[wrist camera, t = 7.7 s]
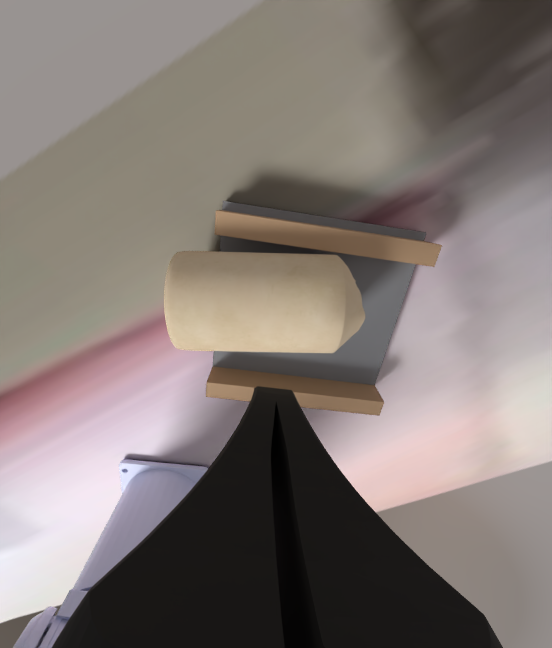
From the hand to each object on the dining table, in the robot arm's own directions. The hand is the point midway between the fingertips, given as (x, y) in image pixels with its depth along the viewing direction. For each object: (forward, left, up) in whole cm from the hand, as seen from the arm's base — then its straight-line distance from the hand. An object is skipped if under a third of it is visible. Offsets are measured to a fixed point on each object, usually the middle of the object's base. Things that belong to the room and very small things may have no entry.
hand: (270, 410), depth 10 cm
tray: (0, -2, -10) cm, 11 cm away
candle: (+1, +5, -7) cm, 9 cm away
